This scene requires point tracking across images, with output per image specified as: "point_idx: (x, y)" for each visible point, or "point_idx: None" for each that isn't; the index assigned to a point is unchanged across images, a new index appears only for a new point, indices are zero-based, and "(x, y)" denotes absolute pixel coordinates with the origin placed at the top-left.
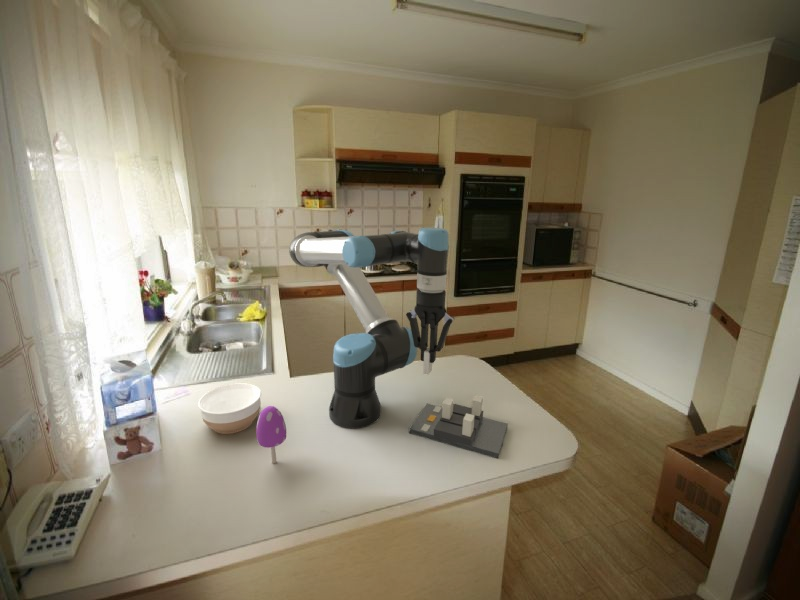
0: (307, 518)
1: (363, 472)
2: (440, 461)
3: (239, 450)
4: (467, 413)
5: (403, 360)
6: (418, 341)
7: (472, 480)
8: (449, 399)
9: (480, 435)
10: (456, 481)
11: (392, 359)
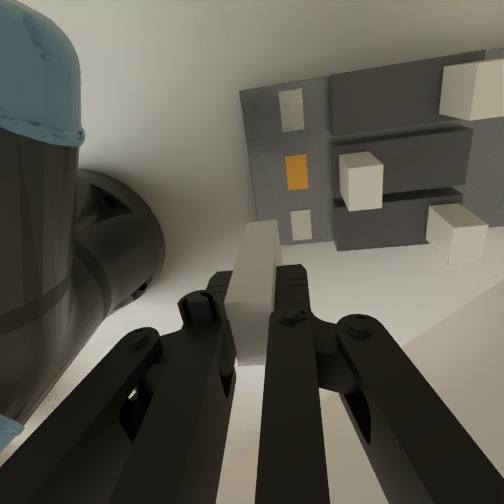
0: (242, 444)
1: (251, 369)
2: (375, 289)
3: (54, 404)
4: (420, 111)
5: (72, 179)
6: (141, 379)
7: (458, 306)
8: (366, 172)
9: (470, 171)
10: (424, 322)
11: (51, 264)
